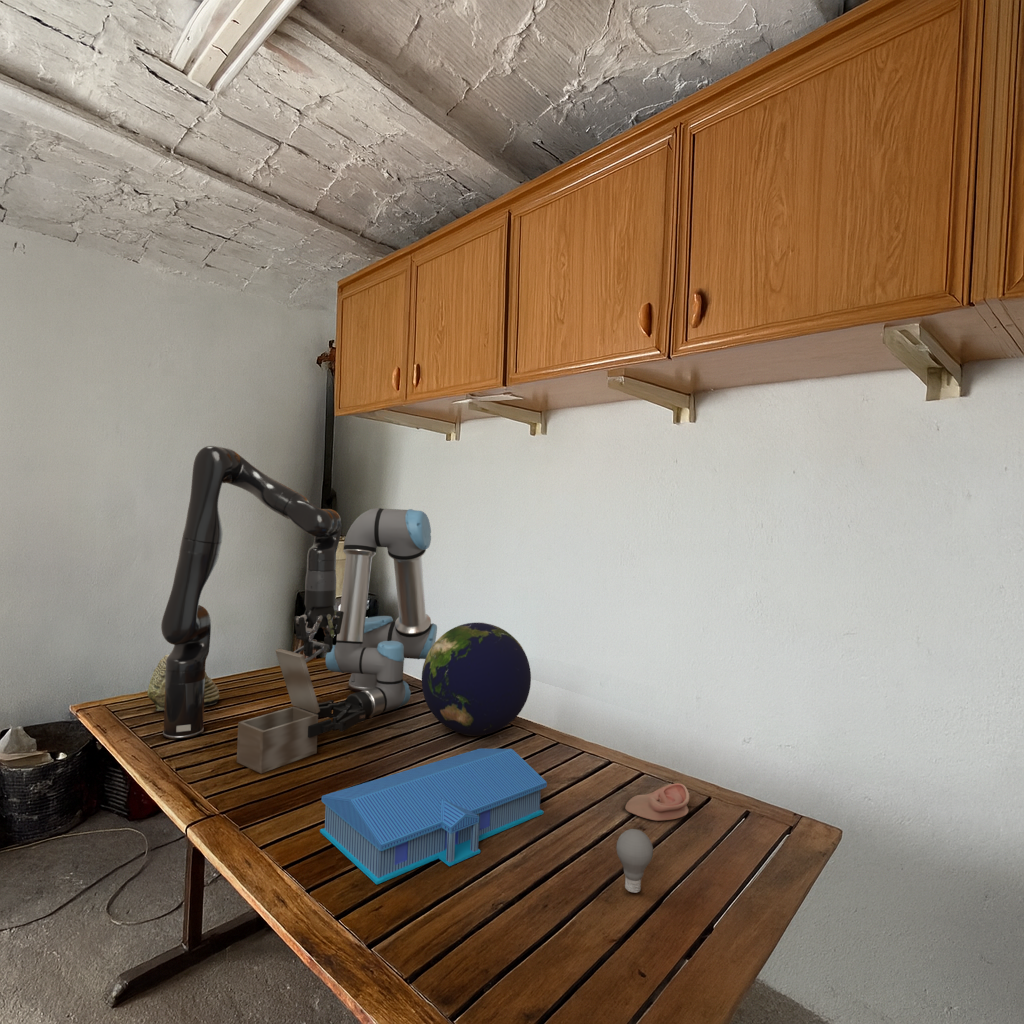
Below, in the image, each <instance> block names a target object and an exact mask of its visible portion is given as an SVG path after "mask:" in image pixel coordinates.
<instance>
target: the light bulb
mask: <svg viewBox="0 0 1024 1024" xmlns="http://www.w3.org/2000/svg"><path fill="white" fill-rule="evenodd" d="M615 849H616V854H617V857H618V859H619V861H620V863H621V865H622V867H623V873H624V874H623V875H624V876H625V878H624V888H625V890H627V891H628V892H630V893H634V894H635V893H639V892H640V891H641V889H642V887H641V886H642V879H643V877H644V875H645V871H646V868H647V867H648V866H649V864H650V863H651V861H652V859H653V855H654V847H653V843H652V841H651V838H649V836H648V835H647V834H646V833H645V832H643V831H642V830H641V829H636V828H629V829H627V830H625V831H623V832H622V833H621V834H620V835H619V837H618V839H617V841H616V847H615Z"/></svg>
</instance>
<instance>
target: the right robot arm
mask: <svg viewBox="0 0 1024 1024" xmlns="http://www.w3.org/2000/svg"><path fill="white" fill-rule="evenodd" d="M431 527H432V526H431V522H430V519H429V516H428V515H427V514H426V513H425V512H424V511H422V510H418V509H417V510H416V509H413V508H409V509H401V508H400V509H398V508H382V507H374V508H370V509H368V510H366V511H364V512H362V513H361V514H360V515H359V516H358V517H356V519H355V520H354V521H353V522H352V524H351V525H350V527H349V529H348V531H347V533H346V535H345V538H344V541H343V549H342V553H344V554H345V563H344V564H345V565H344V573H343V581H342V590H341V600H340V605H339V611H343V612H344V615H343V620H342V625H341V630H340V633H339V634H336V643H335V644H333V648H332V650H331V652H329V653H328V652H327V653H325V667H326V669H327V671H329V672H334V673H341V674H350V677H349V679H348V689H349V690H350V691H352V692H354V693H351V694H349V695H347V697H346V698H345V700H344V701H339V702H336V703H335V700H334V699H330V700H327V701H322V702H318V705H319V709H320V712H318V713H317V715H318V719H319V718H326V717H328V718H329V719H325V720H321V721H318V723H316V724H313V725H310V726H308V737H309V738H311V737H314V736H317V737H318V736H320V735H322V734H325V733H328V732H331V731H334V732H335V731H339V732H341V733H342V732H345V731H347V730H348V729H350V728H352V727H353V726H355V725H357V724H359V723H361V722H365V721H366V720H367V719H369V718H370V719H372V718H373V717H375V716H378V715H381V714H384V713H387V712H390V711H392V710H393V711H394V710H397V709H399V708H401V707H404V706H405V705H407V704H408V702H409V701H410V699H411V695H412V693H411V692H412V691H411V689H410V685H409V684H408V683H407V681H405V680H404V665H405V659H410V660H411V659H413V660H425V659H426V657H427V654H428V652H429V650H430V649H431V647H432V646H433V644H434V643H435V642H436V641H437V633H438V625H437V624H436V623H433V622H432V619H431V617H430V615H428V614H427V612H426V611H427V610H426V599H425V585H424V573H423V572H424V570H423V558H422V557H423V556H424V555H425V554H426V551H427V549H429V548H430V545H431V543H432V542H431V541H432V535H431V533H432V529H431ZM378 548H386V549H387V555H388V556H389V558H391V559H393V568H394V578H395V587H396V589H395V590H396V597H397V598H396V599H397V608H398V617H397V618H396V620H395V621H394V619H393V617H392V616H391V615H377V616H369V617H366V616H367V607H368V596H369V588H370V581H371V580H370V579H371V569H372V561H373V558H374V556H375V555H376V554H377V549H378ZM300 709H302V708H300ZM303 710H305V709H303ZM306 711H308V710H306ZM308 712H310V711H308ZM311 713H313V712H311ZM314 714H316V713H314Z"/></svg>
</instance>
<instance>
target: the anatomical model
mask: <svg viewBox="0 0 1024 1024" xmlns="http://www.w3.org/2000/svg"><path fill="white" fill-rule="evenodd" d="M690 797H691V796H690V793H689V790H688V789H687V787H686V786H685V785H684V784H682V783H672V784H668V785H664V786H662V787H660V788H657V789H656V790H654V791H652V792H650V793H646V794H636V795H634V796H632V797H631V798H630V799H628V801H627V802H626V804H625V807H624V808H625V811H626V812H628V813H630V814H633V815H634V816H638V817H640V818H643V819H647V820H649V821H656V822H657V821H670V820H675V819H679V818H683V817H685V816H686V815H687V814H688V813H689V807H688V804H689V802H690Z"/></svg>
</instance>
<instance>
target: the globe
mask: <svg viewBox="0 0 1024 1024" xmlns="http://www.w3.org/2000/svg"><path fill="white" fill-rule="evenodd" d="M531 683H532V672H531V665H530V662H529V659H528V656H527V654H526V651H525V650H524V648H523V646H522V645H521V643H520V642H519V641H518V640H517V639H516V638H515V637H514V636H513V635H512V634H510V632H508V631H506V630H505V629H503V628H501V627H500V626H497V625H494V624H491V623H486V622H479V621H478V622H467V623H463V624H460V625H457V626H455V627H453V628H451V629H449V630H447V631H446V632H444V633H443V634H442V635H441V636H439V638H437V639H436V641H435V643H434V644H433V646H432V647H431V649H430V650H429V652H428V654H427V657H426V659H424V662H423V665H422V671H421V689H422V694H423V697H424V700H425V703H426V705H427V707H428V709H429V711H430V712H431V714H432V715H433V716H434V717H435V719H436V720H437V721H438V722H439V723H441V724H442V726H444V727H446V728H447V729H449V730H451V731H453V732H455V733H457V734H461V735H464V736H470V737H471V736H472V737H475V736H476V737H478V736H487V735H489V734H494V733H495V732H498V731H500V730H502V729H504V728H505V727H507V726H508V725H510V724H511V723H512V722H513V721H514V720H515V719H516V718H517V717H518V716H519V714H520V713H522V710H523V709H524V707H525V705H526V703H527V701H528V698H529V694H530V690H531Z"/></svg>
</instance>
